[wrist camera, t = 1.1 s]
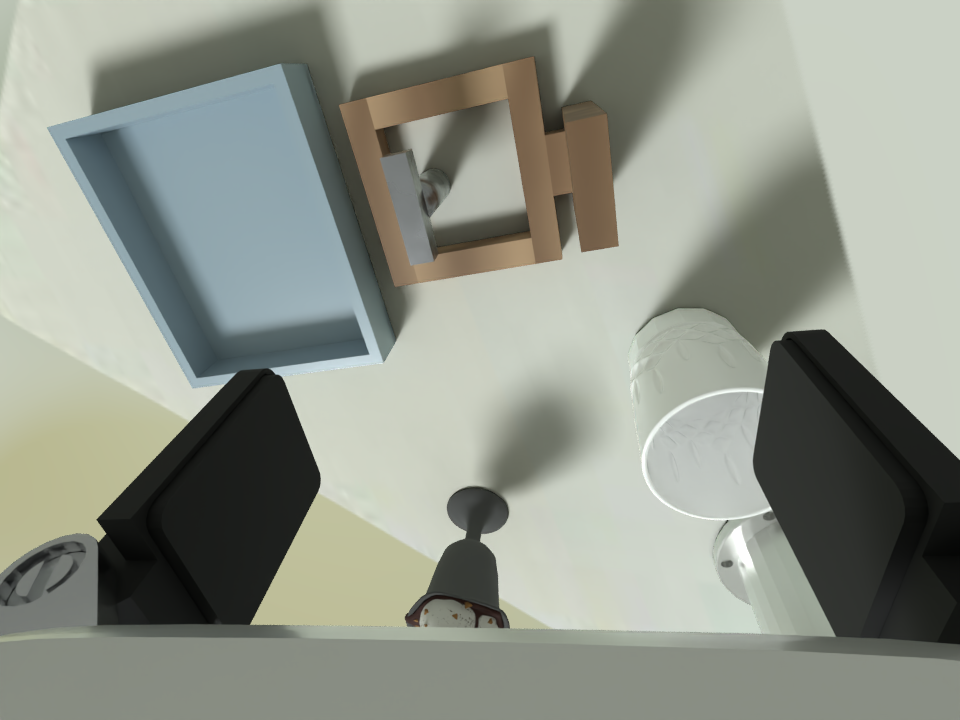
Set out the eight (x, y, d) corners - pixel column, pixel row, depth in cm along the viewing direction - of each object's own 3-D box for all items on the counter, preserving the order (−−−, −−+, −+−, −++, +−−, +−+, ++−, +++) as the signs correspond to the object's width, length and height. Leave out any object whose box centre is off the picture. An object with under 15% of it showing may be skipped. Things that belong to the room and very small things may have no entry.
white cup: (595, 378, 34) (610, 484, 25) (662, 276, 30) (706, 360, 21) (700, 423, 35) (749, 541, 26) (778, 329, 31) (866, 431, 22)
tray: (306, 64, 27) (280, 63, 24) (396, 340, 34) (383, 362, 32) (90, 122, 30) (46, 127, 27) (217, 366, 37) (192, 388, 35)
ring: (585, 44, 25) (600, 34, 18) (605, 243, 30) (623, 302, 22) (348, 102, 27) (274, 115, 20) (401, 278, 32) (356, 340, 25)
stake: (438, 134, 28) (411, 151, 22) (459, 226, 30) (439, 260, 25) (407, 142, 28) (373, 159, 23) (430, 231, 30) (404, 266, 25)
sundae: (445, 469, 39) (394, 665, 27) (529, 493, 40) (518, 699, 27) (428, 526, 43) (374, 725, 30) (505, 548, 43) (485, 755, 30)
